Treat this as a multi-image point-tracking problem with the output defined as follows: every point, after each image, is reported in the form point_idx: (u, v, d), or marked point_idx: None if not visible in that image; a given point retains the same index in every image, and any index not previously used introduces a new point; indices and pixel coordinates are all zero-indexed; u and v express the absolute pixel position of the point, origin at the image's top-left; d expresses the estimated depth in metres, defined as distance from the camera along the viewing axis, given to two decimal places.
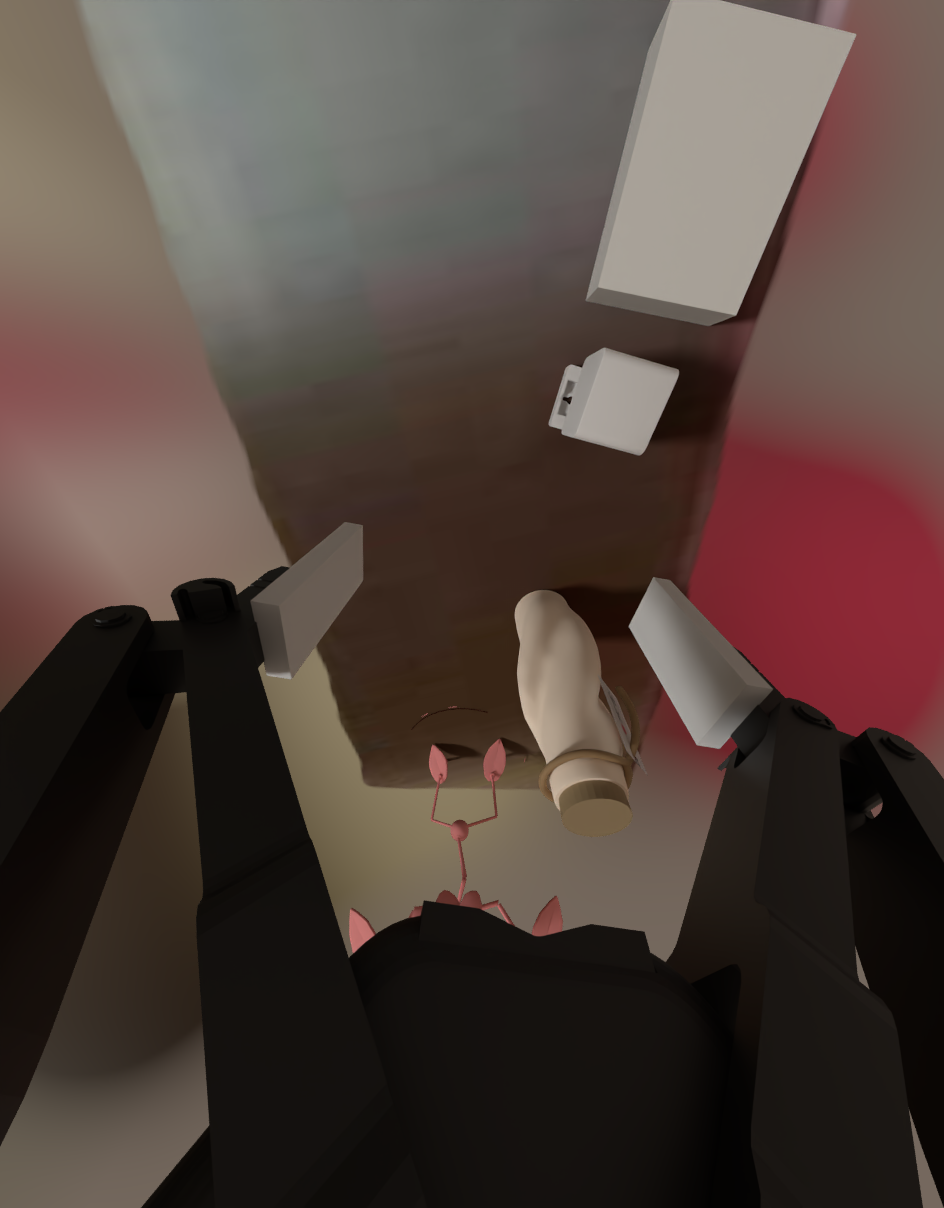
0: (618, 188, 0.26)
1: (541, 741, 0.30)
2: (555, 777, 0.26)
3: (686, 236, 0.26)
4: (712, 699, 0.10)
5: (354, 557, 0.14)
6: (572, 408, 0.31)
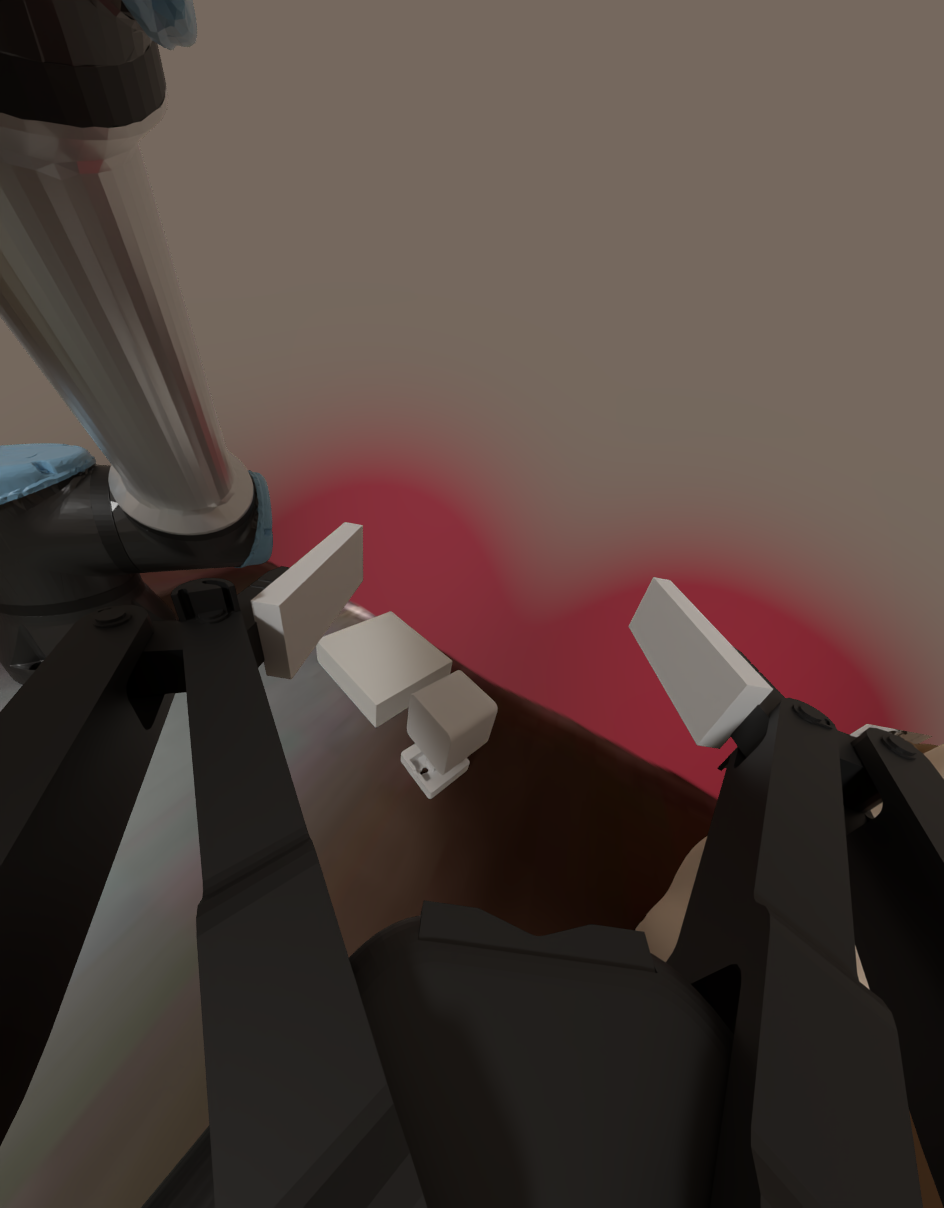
0: (346, 684, 0.42)
1: None
2: None
3: (397, 664, 0.43)
4: (712, 699, 0.10)
5: (354, 557, 0.14)
6: (430, 751, 0.33)
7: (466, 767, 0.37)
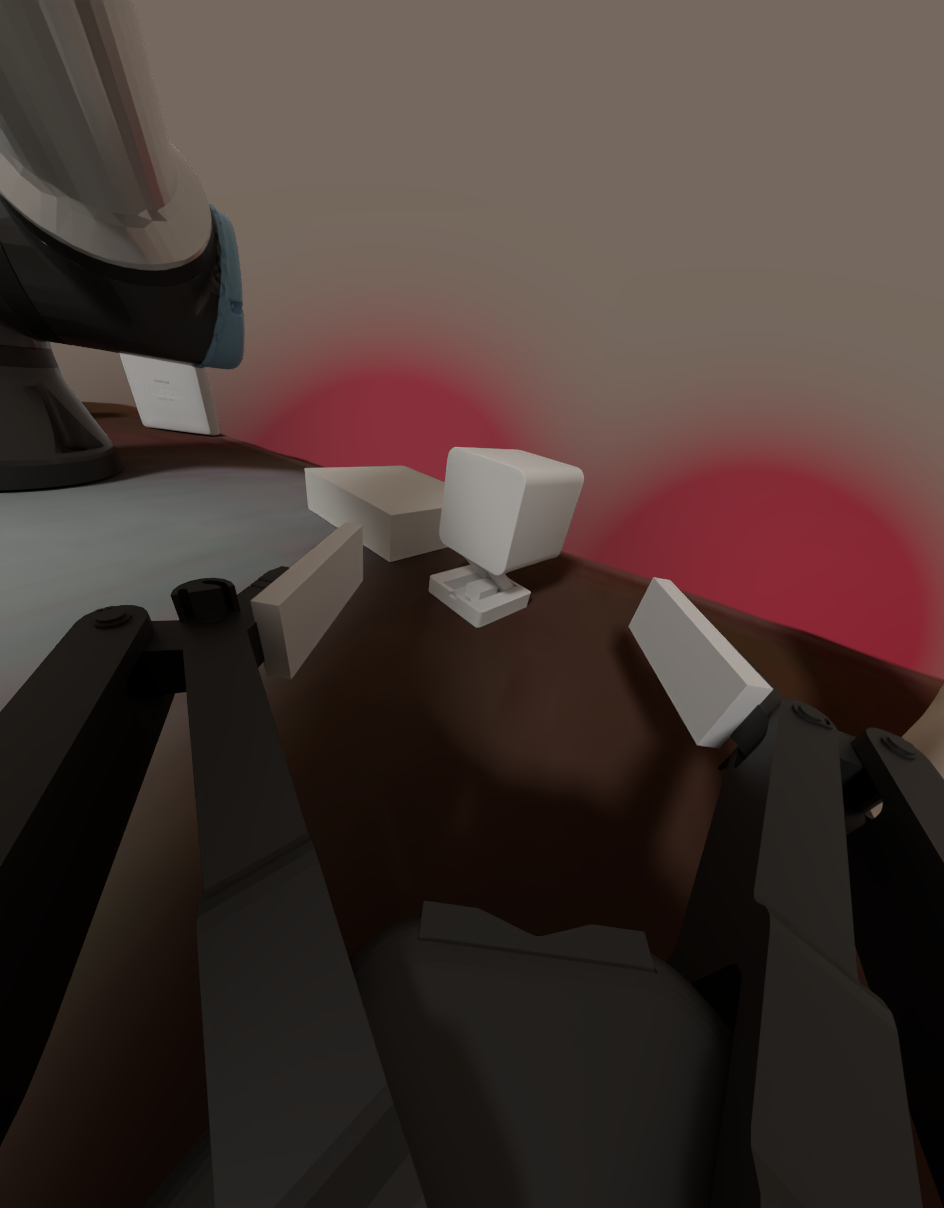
0: (347, 513, 0.30)
1: None
2: None
3: (417, 494, 0.32)
4: (712, 699, 0.10)
5: (354, 557, 0.14)
6: (481, 540, 0.21)
7: (526, 598, 0.25)
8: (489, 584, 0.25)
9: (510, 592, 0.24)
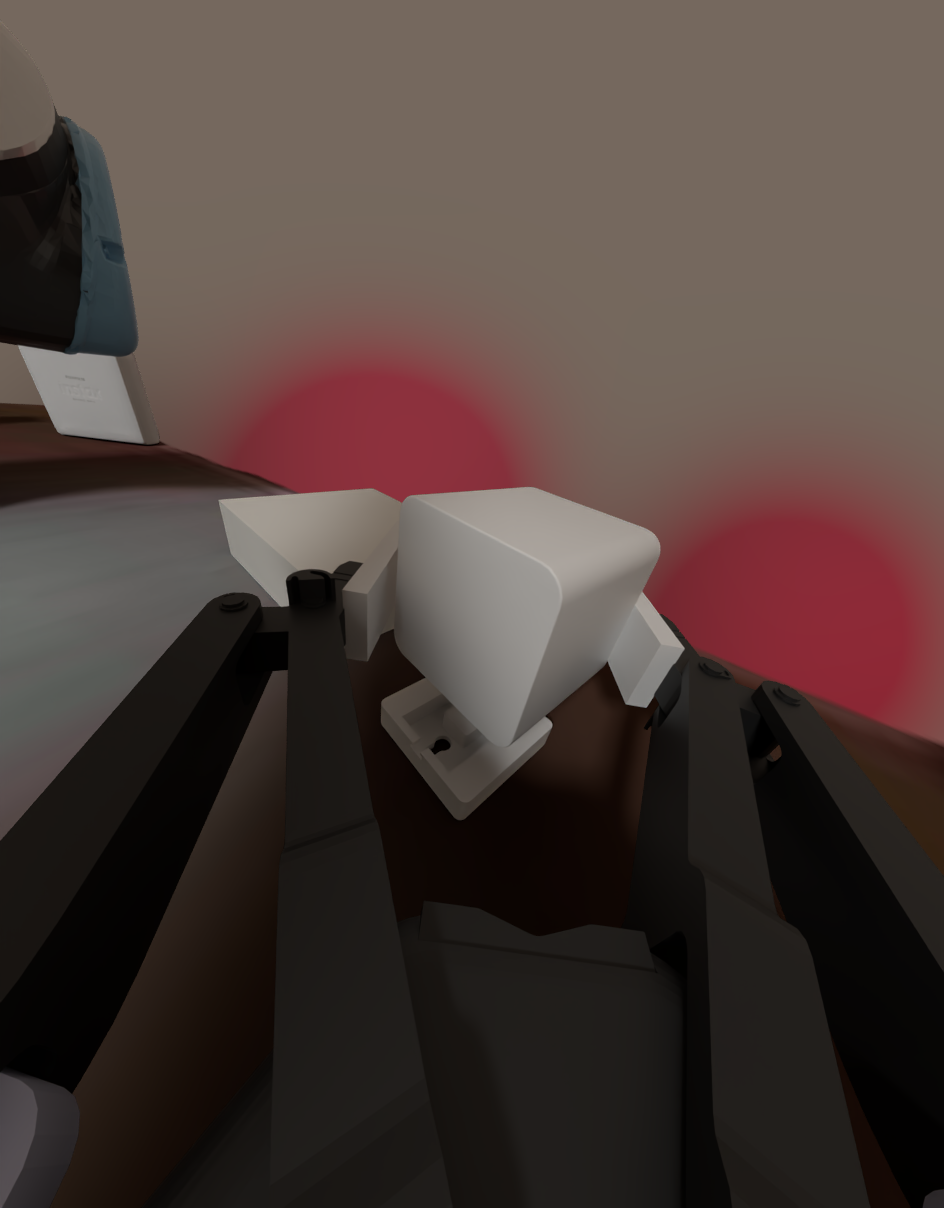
0: (270, 573, 0.20)
1: None
2: None
3: (379, 540, 0.21)
4: (637, 661, 0.11)
5: None
6: (465, 675, 0.11)
7: (545, 736, 0.15)
8: None
9: None
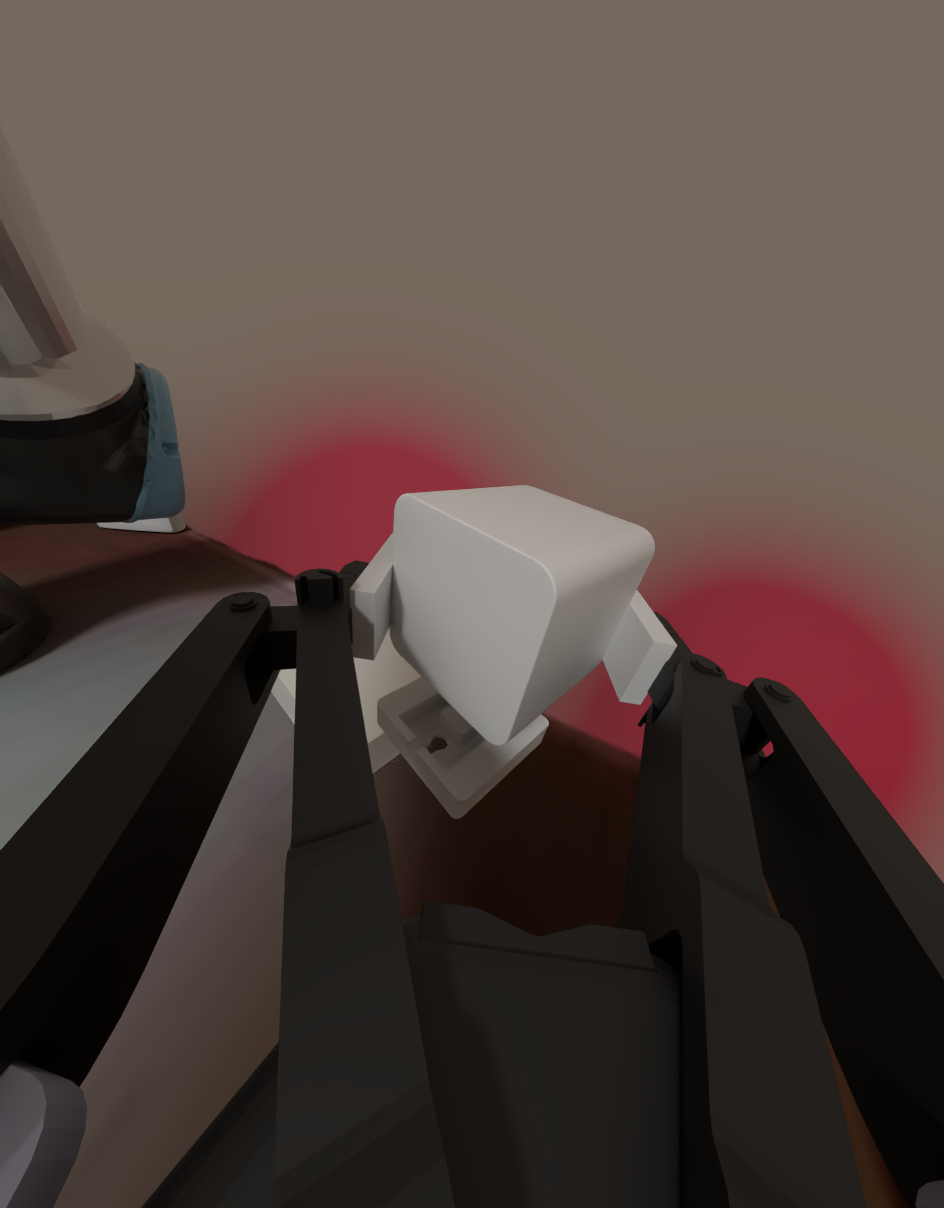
0: None
1: None
2: None
3: (382, 683, 0.27)
4: (631, 659, 0.11)
5: None
6: (461, 673, 0.11)
7: (541, 734, 0.15)
8: None
9: None
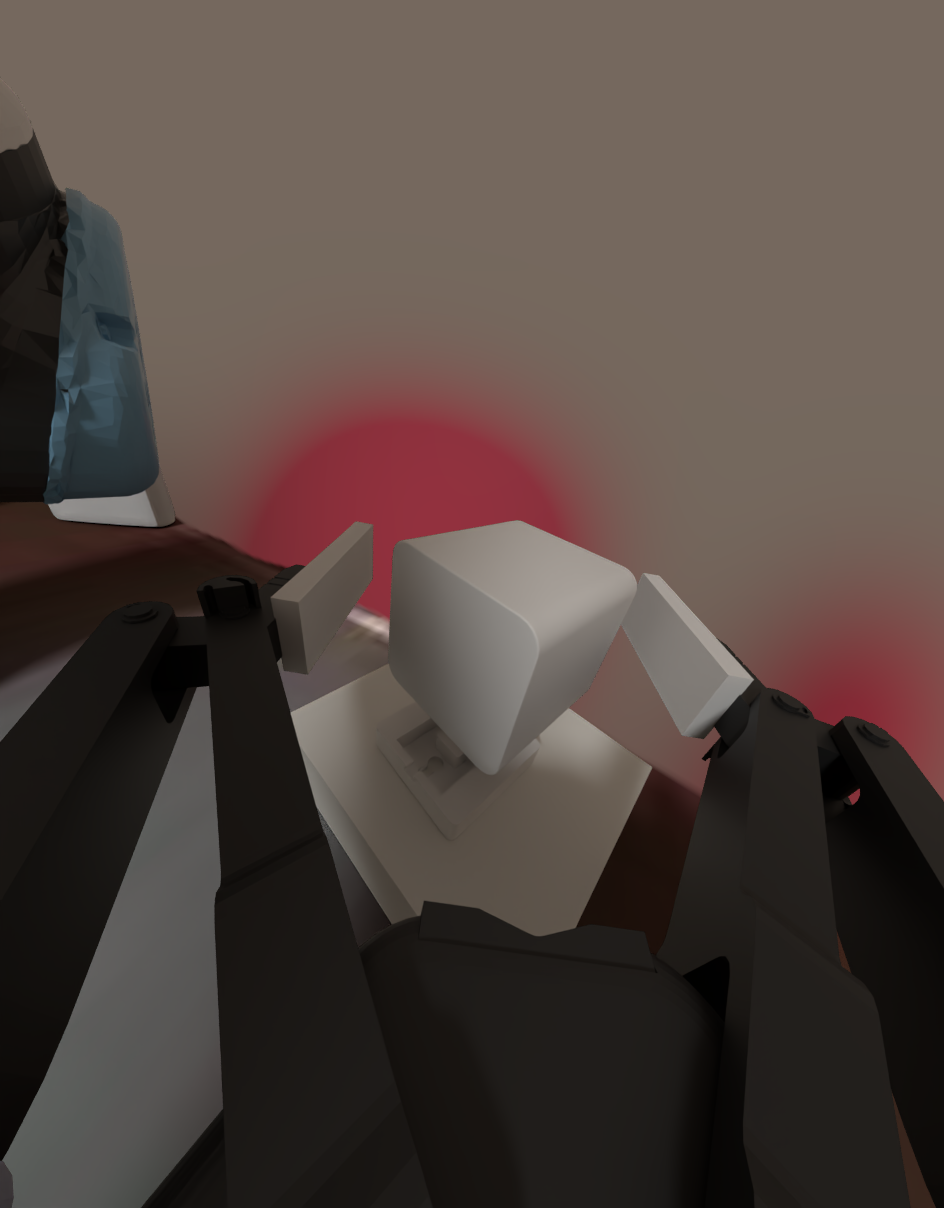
0: (373, 875, 0.13)
1: None
2: None
3: (520, 795, 0.15)
4: (696, 690, 0.11)
5: (365, 556, 0.14)
6: (455, 706, 0.11)
7: (533, 756, 0.15)
8: None
9: None
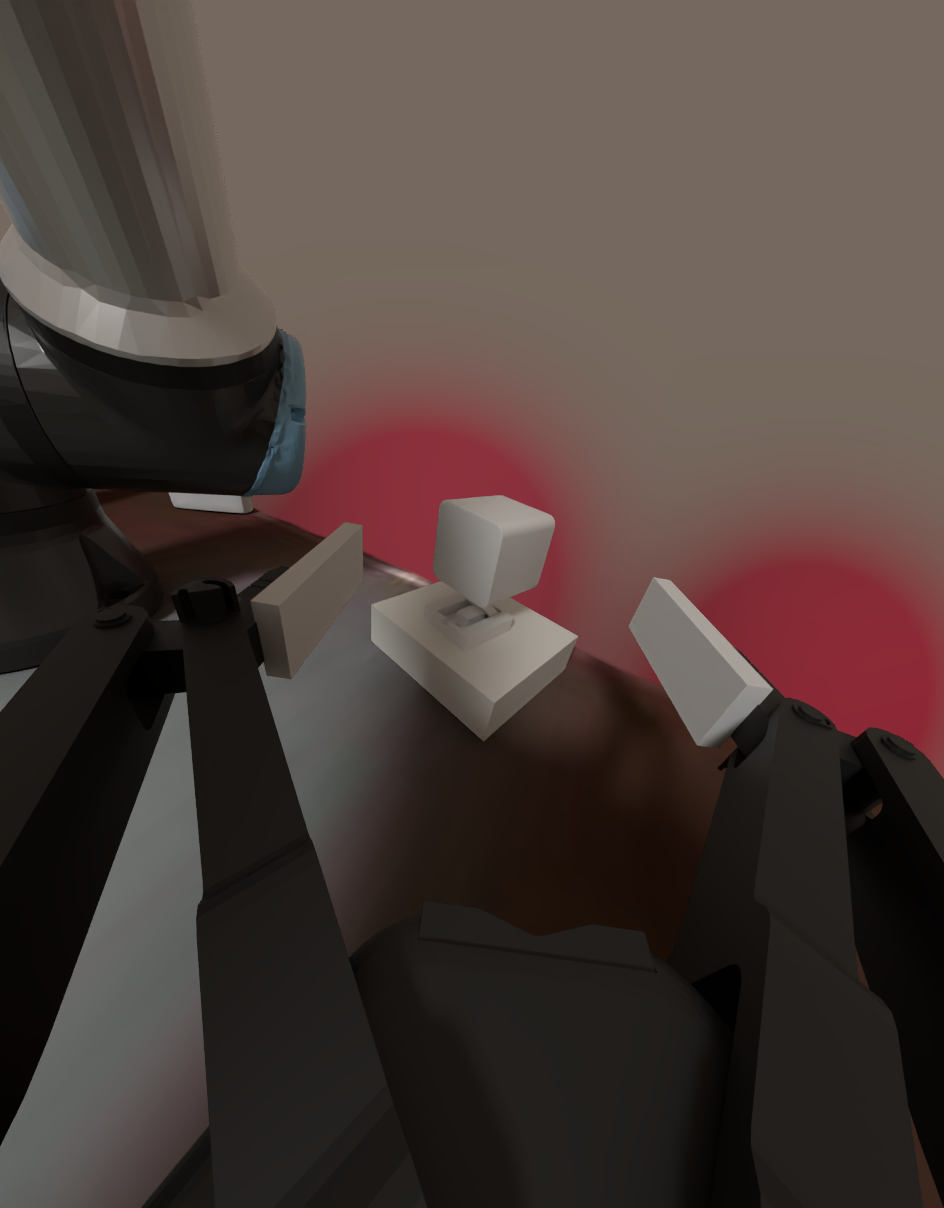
0: (427, 671, 0.26)
1: None
2: None
3: (502, 640, 0.28)
4: (712, 699, 0.10)
5: (354, 557, 0.14)
6: (468, 578, 0.25)
7: (509, 623, 0.29)
8: (477, 611, 0.29)
9: (495, 618, 0.28)
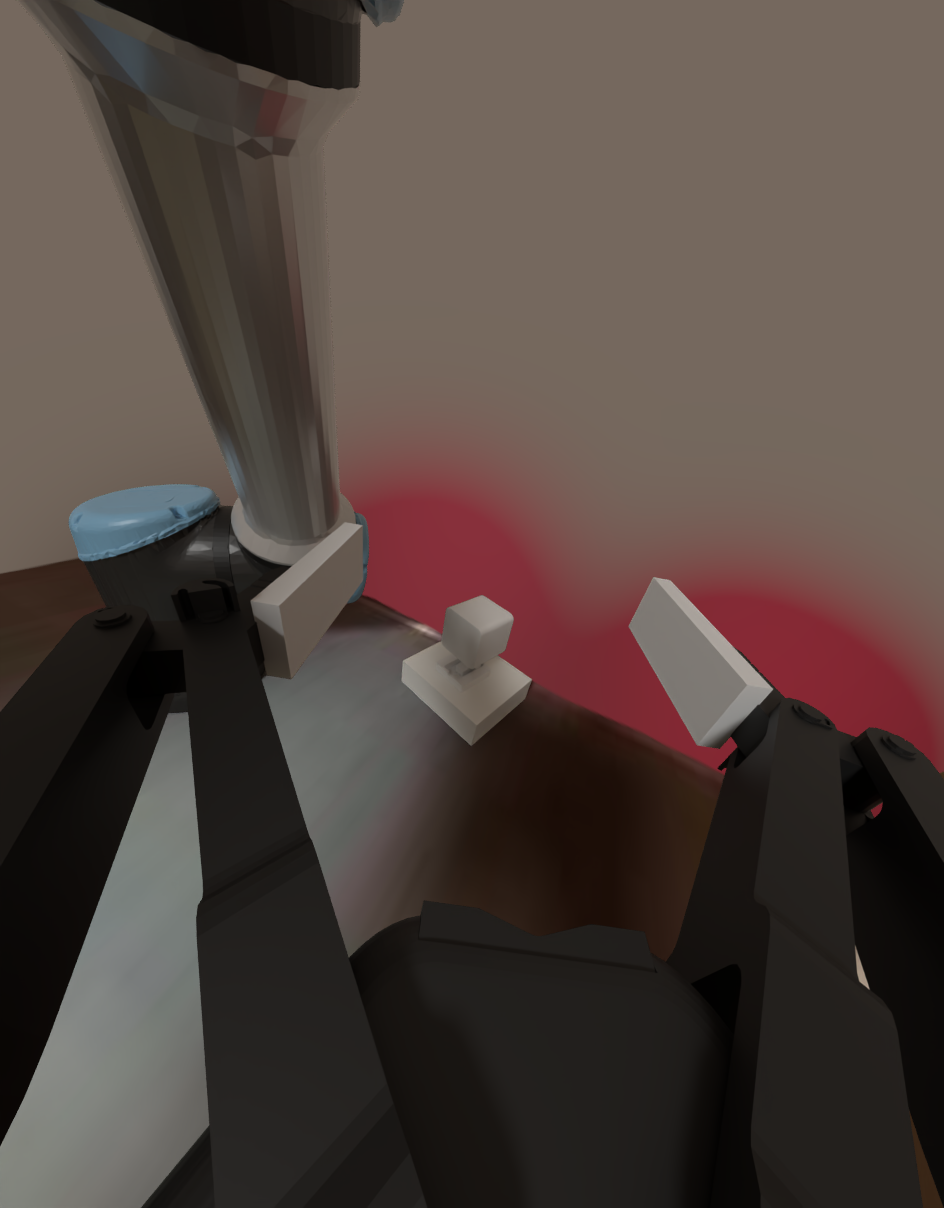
0: (438, 704, 0.44)
1: None
2: None
3: (483, 684, 0.46)
4: (712, 699, 0.10)
5: (354, 557, 0.14)
6: (463, 651, 0.42)
7: (488, 673, 0.46)
8: None
9: (479, 670, 0.46)
